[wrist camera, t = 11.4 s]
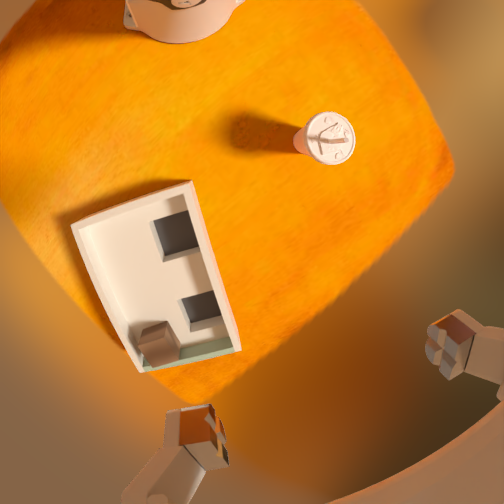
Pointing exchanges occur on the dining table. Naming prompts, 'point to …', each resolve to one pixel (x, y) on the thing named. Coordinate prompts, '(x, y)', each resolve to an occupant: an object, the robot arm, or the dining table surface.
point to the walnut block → (159, 344)
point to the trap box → (159, 273)
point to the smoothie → (326, 138)
